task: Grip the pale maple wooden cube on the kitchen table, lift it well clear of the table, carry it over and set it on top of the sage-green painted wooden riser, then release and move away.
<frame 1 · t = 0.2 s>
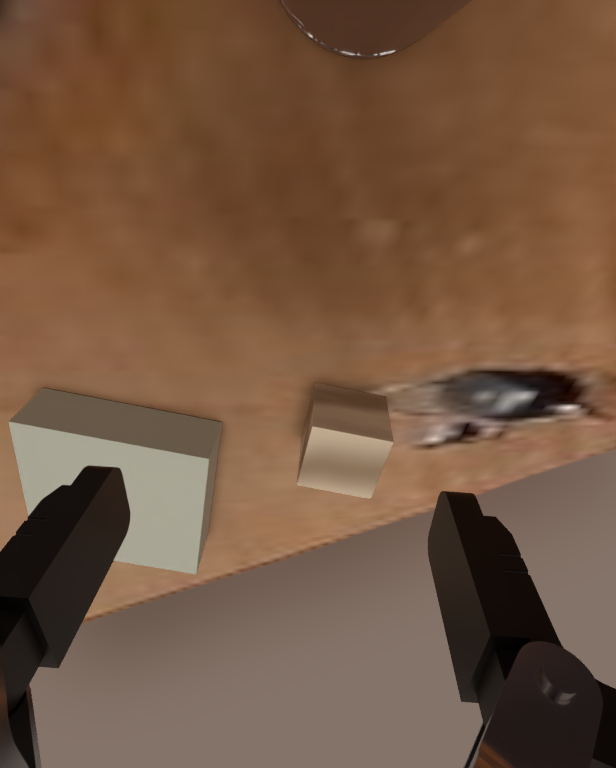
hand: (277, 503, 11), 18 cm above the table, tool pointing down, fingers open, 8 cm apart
maple cube: (342, 416, 32), on the table
riser: (134, 469, 36), on the table
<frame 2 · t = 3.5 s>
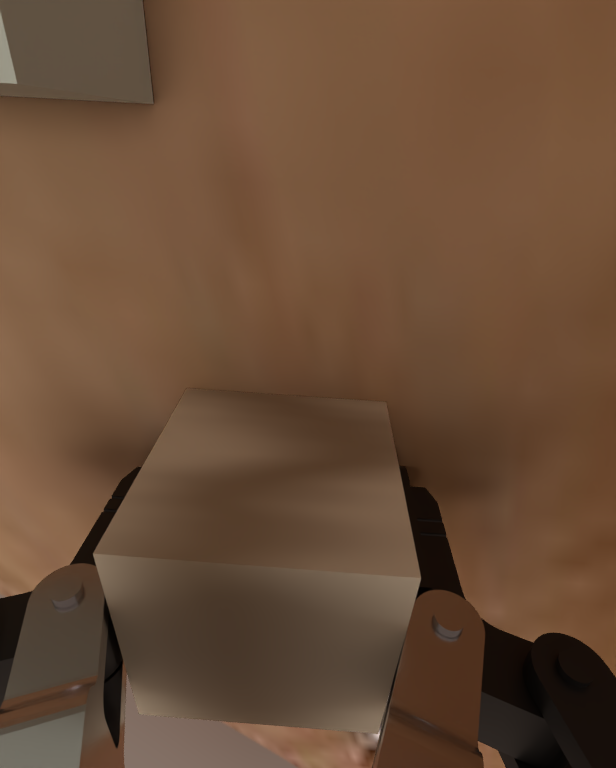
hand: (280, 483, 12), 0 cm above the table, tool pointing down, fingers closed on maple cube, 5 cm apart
maple cube: (283, 471, 12), on the table, touching gripper
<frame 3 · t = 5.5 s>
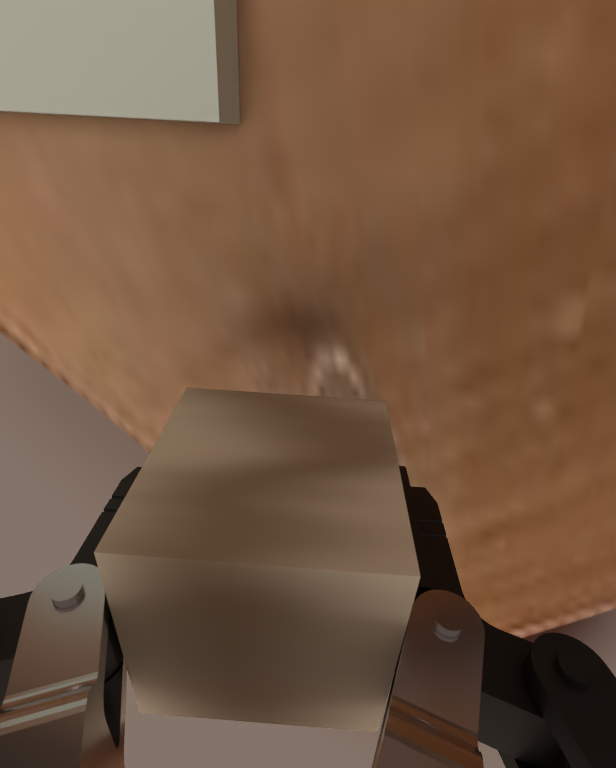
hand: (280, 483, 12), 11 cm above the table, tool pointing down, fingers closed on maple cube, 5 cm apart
maple cube: (283, 470, 12), point 11 cm above the table, touching gripper
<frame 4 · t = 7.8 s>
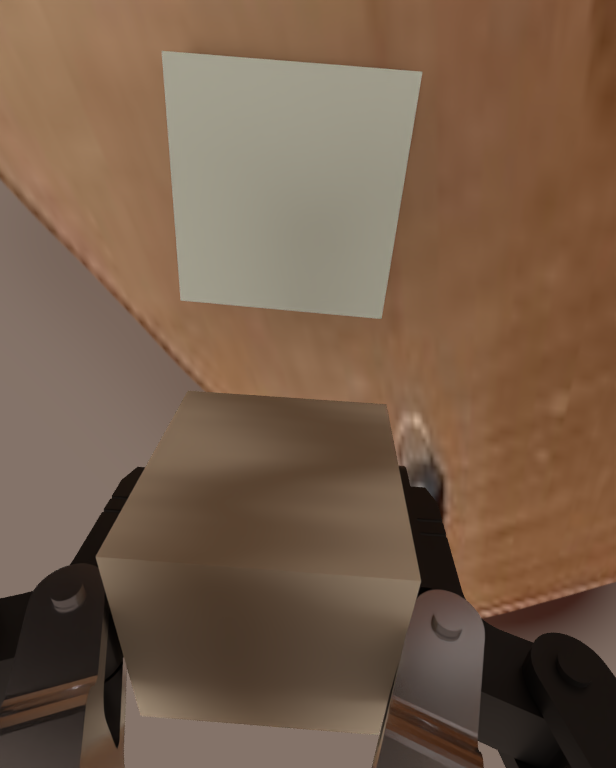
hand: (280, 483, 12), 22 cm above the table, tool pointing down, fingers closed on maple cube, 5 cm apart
maple cube: (284, 473, 12), point 21 cm above the table, touching gripper
riser: (292, 193, 29), on the table
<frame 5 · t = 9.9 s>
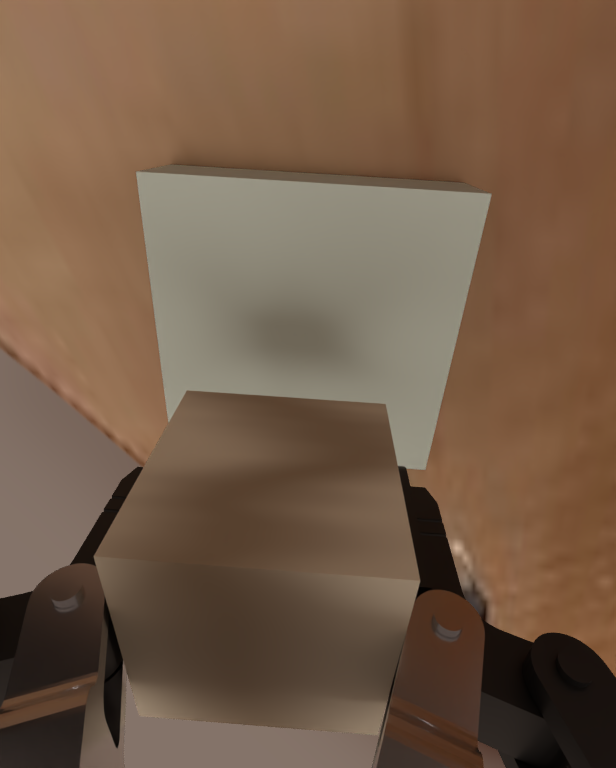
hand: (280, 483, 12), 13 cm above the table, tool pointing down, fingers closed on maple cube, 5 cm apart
maple cube: (283, 473, 12), point 12 cm above the table, touching gripper
riser: (308, 312, 23), on the table
when the fingers open (6 cm above the table, at t = 12.0 s): maple cube drops 1 cm, resting on riser.
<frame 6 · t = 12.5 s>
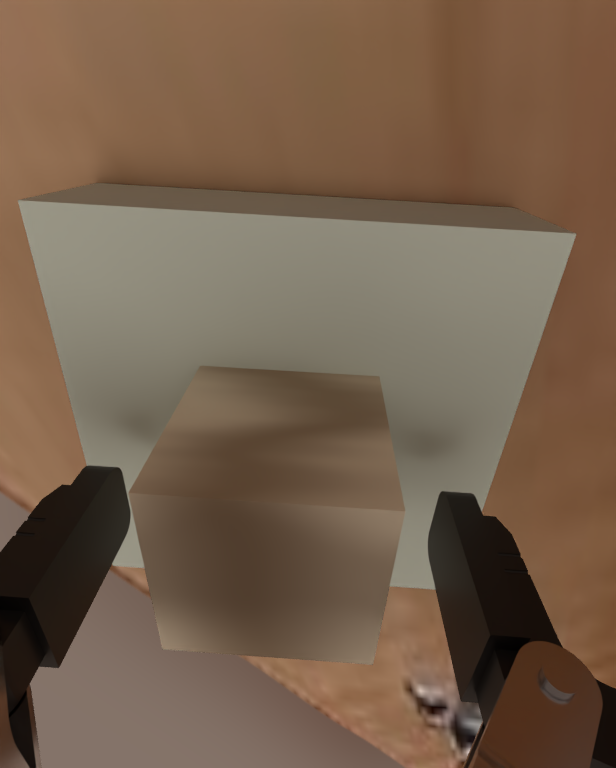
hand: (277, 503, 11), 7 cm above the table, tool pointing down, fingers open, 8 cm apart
maple cube: (287, 442, 13), point 4 cm above the table, touching riser
riser: (296, 377, 17), on the table
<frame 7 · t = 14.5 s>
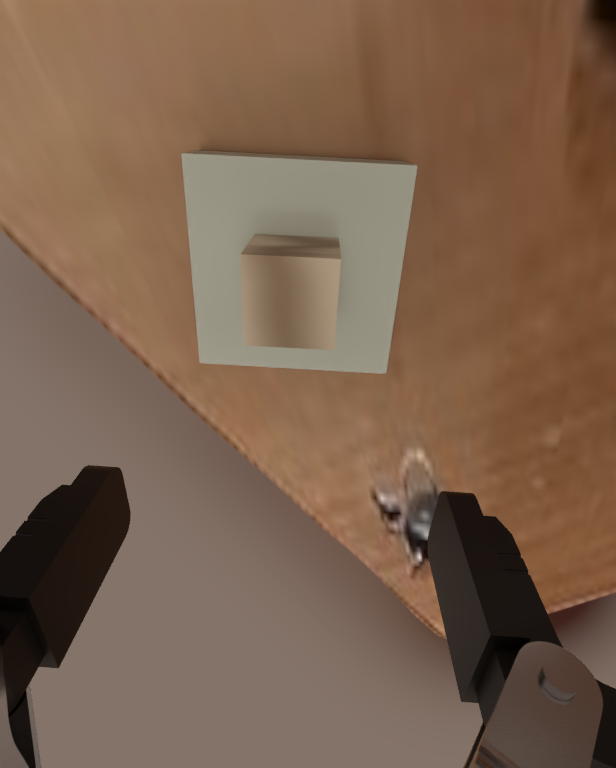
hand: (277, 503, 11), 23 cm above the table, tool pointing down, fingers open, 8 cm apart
maple cube: (295, 277, 27), point 4 cm above the table, touching riser
riser: (299, 259, 31), on the table
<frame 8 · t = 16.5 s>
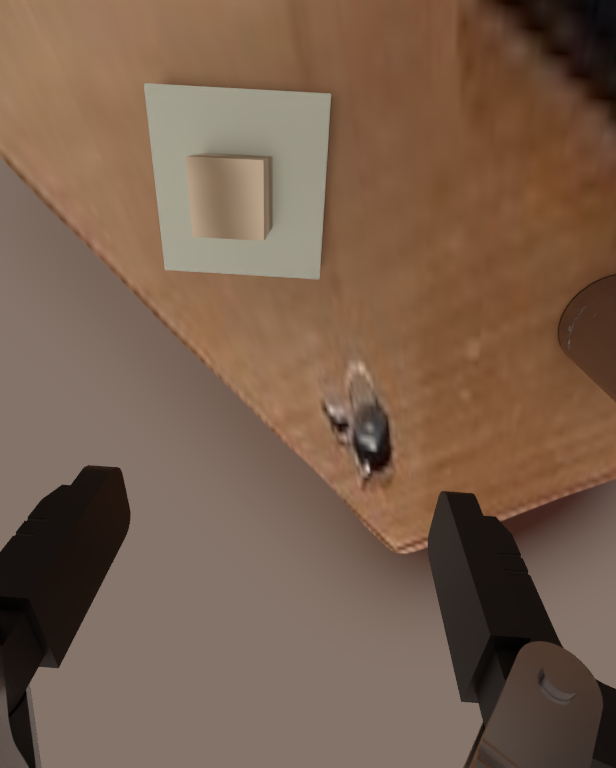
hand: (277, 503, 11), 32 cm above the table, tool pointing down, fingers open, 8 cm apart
maple cube: (240, 191, 34), point 4 cm above the table, touching riser
riser: (248, 184, 37), on the table
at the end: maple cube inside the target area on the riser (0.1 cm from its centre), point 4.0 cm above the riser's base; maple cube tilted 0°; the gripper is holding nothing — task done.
